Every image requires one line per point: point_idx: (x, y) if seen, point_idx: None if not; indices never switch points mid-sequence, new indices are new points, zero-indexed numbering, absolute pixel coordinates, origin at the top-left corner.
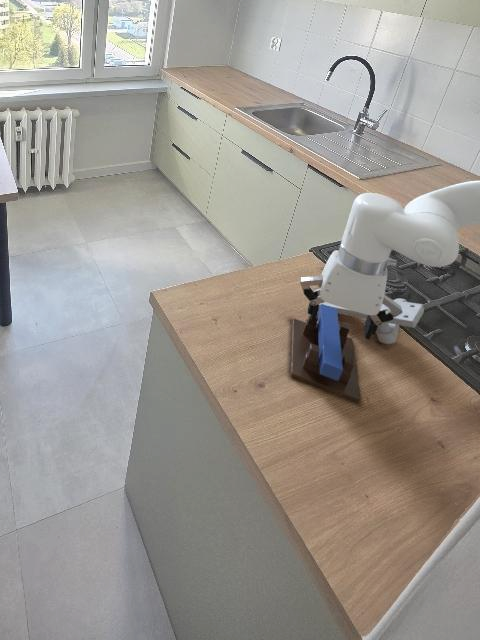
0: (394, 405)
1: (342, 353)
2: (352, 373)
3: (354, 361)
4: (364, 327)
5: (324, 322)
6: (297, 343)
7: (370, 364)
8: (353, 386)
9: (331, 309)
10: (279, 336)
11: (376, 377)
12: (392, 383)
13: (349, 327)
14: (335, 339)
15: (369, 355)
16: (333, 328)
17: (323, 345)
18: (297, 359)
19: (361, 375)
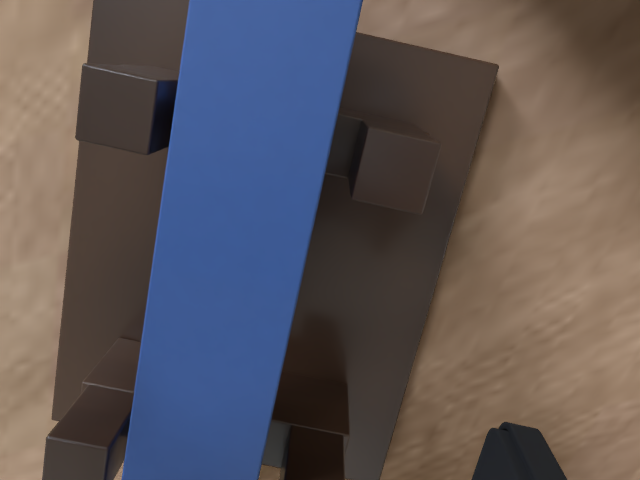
0: (558, 441)
1: (381, 218)
2: (395, 346)
3: (439, 260)
4: (488, 475)
5: (181, 221)
6: (101, 210)
7: (546, 222)
8: (371, 422)
9: (299, 5)
10: (12, 147)
11: (541, 304)
12: (617, 321)
13: (428, 190)
14: (238, 394)
15: (572, 153)
16: (252, 274)
17: (124, 472)
18: (90, 328)
19: (456, 311)
